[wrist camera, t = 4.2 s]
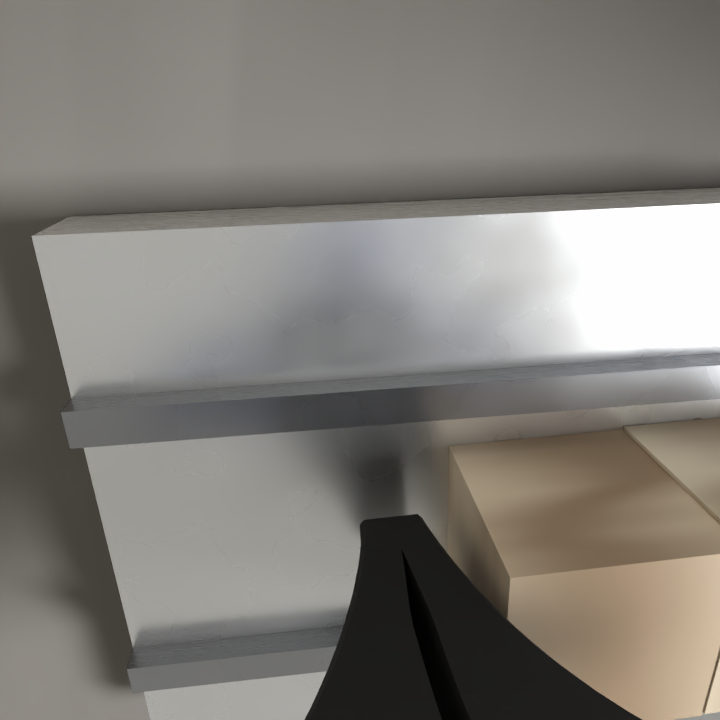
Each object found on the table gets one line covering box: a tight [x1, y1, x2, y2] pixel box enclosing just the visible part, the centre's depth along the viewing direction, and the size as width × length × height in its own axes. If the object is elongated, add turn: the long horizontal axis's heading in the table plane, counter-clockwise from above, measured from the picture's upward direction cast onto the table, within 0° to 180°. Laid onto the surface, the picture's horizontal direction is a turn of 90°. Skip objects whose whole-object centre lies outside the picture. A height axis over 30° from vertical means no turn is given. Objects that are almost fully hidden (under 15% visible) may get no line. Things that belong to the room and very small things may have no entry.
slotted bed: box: [32, 188, 720, 720], centre depth 15 cm, size 15×14×3 cm
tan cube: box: [447, 429, 720, 720], centre depth 12 cm, size 4×4×4 cm
